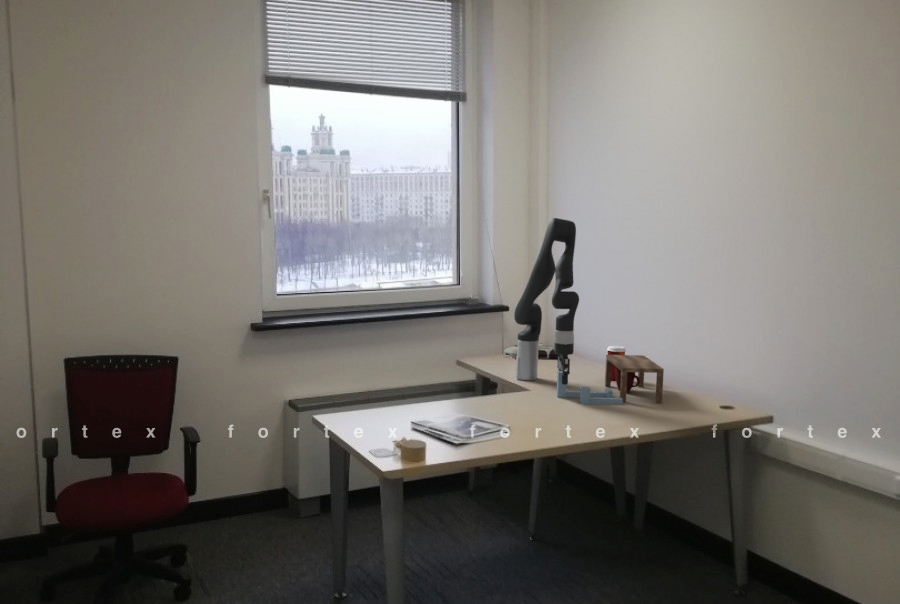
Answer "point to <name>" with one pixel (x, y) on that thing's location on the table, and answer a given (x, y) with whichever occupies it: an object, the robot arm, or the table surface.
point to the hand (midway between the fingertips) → (562, 382)
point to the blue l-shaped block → (587, 399)
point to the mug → (629, 379)
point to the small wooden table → (634, 365)
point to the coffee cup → (615, 351)
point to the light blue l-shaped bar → (563, 393)
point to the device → (543, 352)
